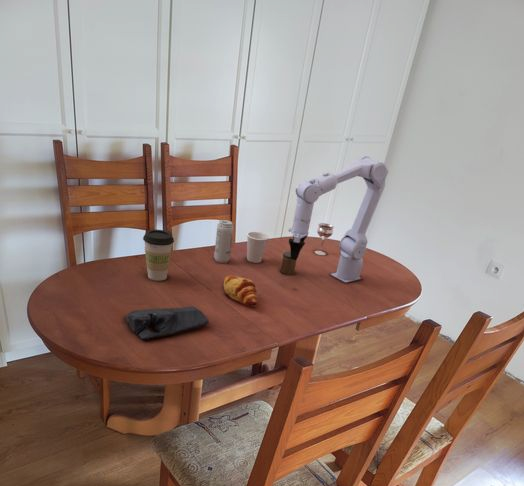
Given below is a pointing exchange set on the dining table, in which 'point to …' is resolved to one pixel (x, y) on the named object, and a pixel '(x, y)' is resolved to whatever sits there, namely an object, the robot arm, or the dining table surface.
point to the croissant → (241, 290)
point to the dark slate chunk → (165, 321)
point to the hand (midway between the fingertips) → (295, 255)
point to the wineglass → (324, 234)
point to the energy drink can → (223, 241)
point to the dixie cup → (256, 246)
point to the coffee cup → (158, 253)
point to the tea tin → (288, 264)
